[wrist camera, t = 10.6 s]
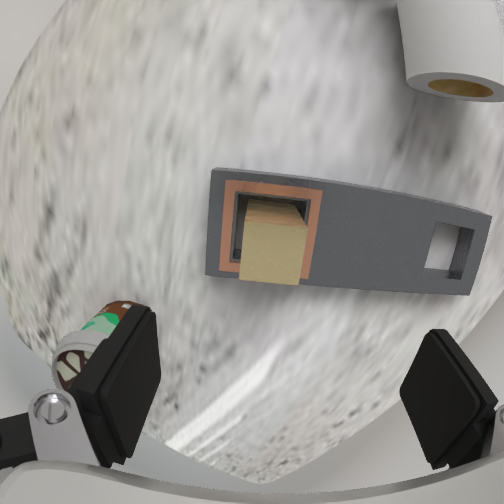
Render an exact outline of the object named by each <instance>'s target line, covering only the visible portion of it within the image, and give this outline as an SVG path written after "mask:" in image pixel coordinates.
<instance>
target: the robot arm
mask: <svg viewBox="0 0 504 504" xmlns="http://www.w3.org/2000/svg"><path fill="white" fill-rule="evenodd" d="M160 380H161V367H160V358H159V348H158V337H157V325H156V314H155V312H151V310H150V308H149V307H147V306H141V305H135V304H133V305H131V306H130V308H129V309H128V311H127V312H126V313H125V315H124V316H123V317H122V319H121V320H120V322H119V323H118V324H117V326H116V327H115V329H114V330H113V331H112V333H111V334H110V336H109V337H108V339H107V338H105V339H103V340H102V341H101V342H100V344H99V345H98V347H97V348H96V349H95V351H94V352H93V354H92V355H91V357H90V358H89V359H88V361H87V362H86V364H85V365H84V367H83V368H82V370H81V371H80V373H79V374H78V376H77V377H76V379H75V380H74V382H73V383H72V385H71V386H70V388H69V389H68V391H67V392H66V391H63V390H60V389H47V390H44V391H41V392H39V393H38V394H36V395H35V396H34V397H33V398H32V400H31V401H30V404H29V408H28V412H27V413H23V414H20V415H15V416H12V417H7V418H3V419H0V504H504V405H501V406H499V408H498V409H497V410H496V411H495V410H494V407H495V406H496V404H497V403H498V399H497V398H496V397H495V395H494V394H493V392H492V390H491V389H490V388H489V386H488V385H487V383H486V382H485V381H484V379H483V378H482V376H481V375H480V374H479V372H478V371H477V369H476V368H475V367H474V365H473V364H472V363H471V361H470V360H469V359H468V357H467V356H466V355H465V353H464V352H463V351H462V349H461V348H460V347H459V345H458V344H457V343H456V342H455V340H454V339H453V338H452V336H451V335H450V334H449V333H448V331H447V330H445V329H432V330H430V331H429V332H428V333H427V334H426V335H425V336H424V339H423V341H422V343H421V345H420V348H419V350H418V352H417V354H416V356H415V359H414V361H413V363H412V365H411V367H410V369H409V371H408V373H407V375H406V377H405V379H404V381H403V383H402V385H401V387H400V397H401V399H402V401H403V404H404V406H405V408H406V411H407V413H408V415H409V417H410V420H411V422H412V425H413V427H414V430H415V432H416V435H417V437H418V439H419V442H420V445H421V447H422V450H423V452H424V455H425V457H426V460H427V462H428V463H430V464H431V466H432V469H433V470H435V469H438V468H442V467H445V466H446V464H449V469H448V470H446V471H443V472H439V473H435V474H431V475H428V476H424V477H420V478H416V479H411V480H407V481H402V482H398V483H392V484H387V485H382V486H375V487H368V488H361V489H353V490H344V491H333V492H319V493H289V494H288V493H283V494H282V493H281V494H280V493H251V492H237V491H226V490H216V489H209V488H202V487H195V486H188V485H182V484H177V483H171V482H166V481H160V480H156V479H151V478H147V477H143V476H139V475H135V474H130V473H125V472H121V471H117V470H113V469H110V467H111V466H112V463H113V462H115V463H118V464H121V465H124V462H125V460H126V457H127V458H131V457H132V455H133V453H134V450H135V447H136V444H137V442H138V439H139V436H140V433H141V431H142V428H143V425H144V423H145V420H146V417H147V415H148V412H149V409H150V407H151V404H152V401H153V399H154V396H155V394H156V391H157V388H158V386H159V383H160Z"/></svg>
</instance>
